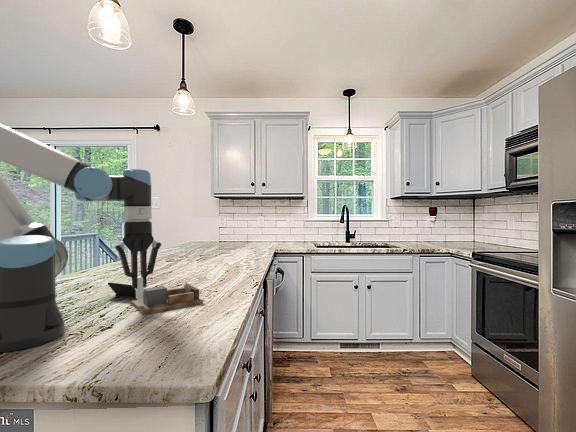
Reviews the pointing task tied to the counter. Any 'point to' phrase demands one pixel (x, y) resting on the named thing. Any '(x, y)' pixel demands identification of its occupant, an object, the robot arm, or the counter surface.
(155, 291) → the plug block
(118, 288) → the black angled piece
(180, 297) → the header board
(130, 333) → the counter surface
